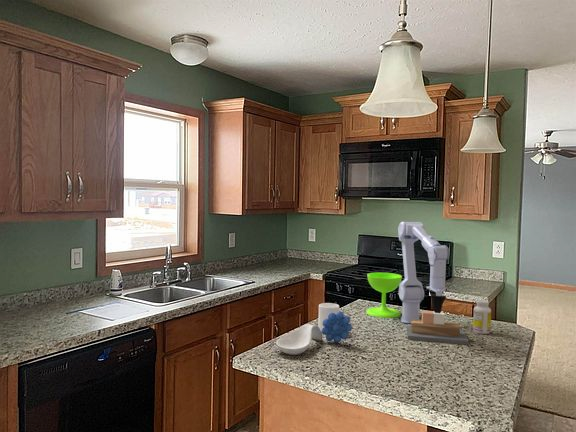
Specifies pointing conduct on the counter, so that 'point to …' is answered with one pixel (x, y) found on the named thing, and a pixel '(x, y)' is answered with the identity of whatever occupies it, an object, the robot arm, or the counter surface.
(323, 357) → the counter surface
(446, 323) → the pallet
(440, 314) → the block
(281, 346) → the spoon rest
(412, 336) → the dock
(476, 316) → the supplement bottle
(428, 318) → the terracotta crate
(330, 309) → the mug
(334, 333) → the blue lobed knob
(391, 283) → the wineglass
